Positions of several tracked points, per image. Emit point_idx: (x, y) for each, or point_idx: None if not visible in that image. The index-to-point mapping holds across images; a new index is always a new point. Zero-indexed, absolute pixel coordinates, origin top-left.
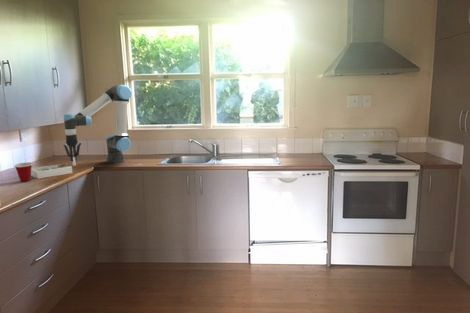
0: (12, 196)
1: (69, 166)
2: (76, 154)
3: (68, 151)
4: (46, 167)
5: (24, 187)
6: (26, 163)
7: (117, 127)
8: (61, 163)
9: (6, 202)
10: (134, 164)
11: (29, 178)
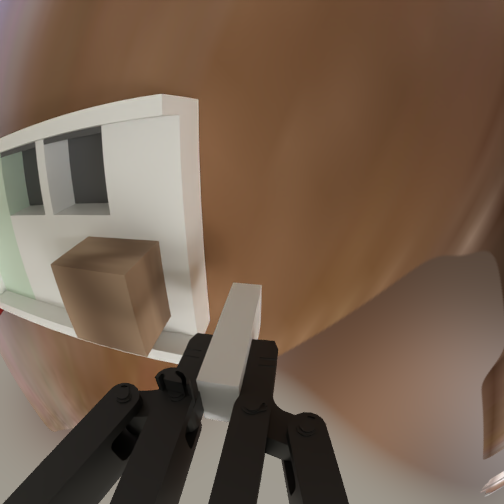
0: (38, 407)
1: (169, 356)
2: (277, 455)
3: (101, 491)
4: (11, 148)
5: (28, 371)
6: None
7: None
8: (84, 284)
9: (45, 423)
10: None
11: (2, 311)
